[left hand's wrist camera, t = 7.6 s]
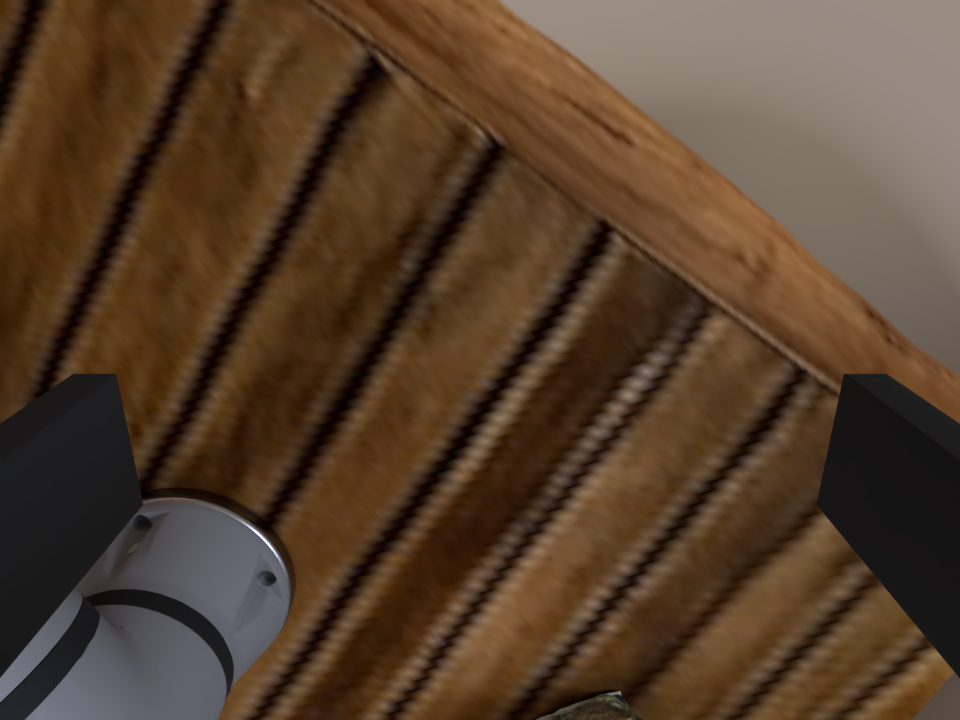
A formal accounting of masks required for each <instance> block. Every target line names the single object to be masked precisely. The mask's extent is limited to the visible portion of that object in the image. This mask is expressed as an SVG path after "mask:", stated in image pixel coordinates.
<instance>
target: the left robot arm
mask: <svg viewBox="0 0 960 720" xmlns="http://www.w3.org/2000/svg"><path fill="white" fill-rule="evenodd" d="M817 506H818V507H819V508H820V509H821V511H822V512H823V513H824V514H825V515H826V517H827V518H828V519H829V520H830V522H831V523H832V524H833V525H834V526H835V528H836V529H837V530H838V531H839V532H840V534H841V535H842V536H843V537H844V538H845V540H846V541H847V542H848V543H849V545H850V546H851V547H852V548H853V549H854V551H855V552H856V553H857V554H858V555H859V557H860V558H861V559H862V560H863V562H864V563H865V564H866V565H867V566H868V568H869V569H870V570H871V571H872V572H873V574H874V575H875V576H876V577H877V578H878V580H879V581H880V582H881V583H882V585H883V586H884V587H885V588H886V589H887V591H888V592H889V593H890V594H891V595H892V597H893V598H894V599H895V600H896V601H897V603H898V604H899V605H900V606H901V608H902V609H903V610H904V611H905V612H906V614H907V615H908V616H909V617H910V618H911V620H912V621H913V622H914V623H915V625H916V626H917V627H918V628H919V629H920V631H921V632H922V633H923V634H924V635H925V637H926V638H927V639H928V640H929V641H930V643H931V644H932V645H933V646H934V648H935V649H936V650H937V651H938V652H939V654H940V655H941V656H942V657H943V658H944V660H945V661H946V662H947V663H948V664H949V666H950V667H951V668H952V669H953V671H954V672H955V673H956V674H957V675H958V677H959V678H960V424H959V423H958V422H956V421H955V420H953V419H952V418H950V417H949V416H948V415H946V414H945V413H943V412H942V411H940V410H939V409H937V408H936V407H934V406H933V405H931V404H930V403H928V402H927V401H926V400H924V399H923V398H921V397H920V396H918V395H917V394H915V393H914V392H912V391H911V390H909V389H908V388H906V387H905V386H904V385H902V384H901V383H899V382H898V381H896V380H895V379H893V378H892V377H890V376H889V375H887V374H844V377H843V381H842V386H841V391H840V396H839V400H838V405H837V410H836V415H835V420H834V424H833V429H832V434H831V439H830V443H829V448H828V453H827V458H826V463H825V467H824V472H823V477H822V482H821V486H820V491H819V496H818V501H817ZM294 595H295V573H294V568H293V564H292V561H291V558H290V556H289V553H288V551H287V549H286V547H285V545H284V544H283V542H282V541H281V539H280V538H279V537H278V535H277V534H276V533H275V532H274V530H273V529H272V528H271V527H270V526H269V525H268V524H267V523H266V522H265V521H263V520H262V519H261V518H260V517H259V516H257V515H256V514H255V513H253V512H252V511H250V510H249V509H247V508H245V507H244V506H242V505H240V504H238V503H236V502H234V501H232V500H230V499H227V498H225V497H222V496H219V495H216V494H213V493H208V492H204V491H198V490H191V489H167V490H159V491H154V492H150V493H146V494H143V495H141V491H140V486H139V482H138V477H137V472H136V467H135V463H134V458H133V453H132V448H131V443H130V439H129V434H128V429H127V424H126V420H125V415H124V410H123V405H122V400H121V396H120V391H119V386H118V381H117V377H116V374H73V375H71V376H70V377H68V378H67V379H65V380H64V381H62V382H61V383H59V384H58V385H56V386H55V387H54V388H52V389H51V390H49V391H48V392H46V393H45V394H43V395H42V396H40V397H39V398H37V399H36V400H34V401H33V402H32V403H30V404H29V405H27V406H26V407H24V408H23V409H21V410H20V411H18V412H17V413H15V414H14V415H12V416H11V417H9V418H8V419H7V420H5V421H4V422H2V423H1V424H0V720H218V718H219V716H220V713H221V711H222V708H223V706H224V703H225V701H226V698H227V696H228V694H229V691H230V689H231V687H232V686H233V685H234V684H235V683H236V681H237V680H238V679H239V678H240V677H241V676H242V675H243V674H244V673H245V672H246V671H247V670H248V669H249V667H250V666H251V665H252V664H253V663H254V662H255V661H256V660H257V659H258V658H259V657H260V656H261V655H262V653H263V652H264V651H265V650H266V649H267V648H268V647H269V646H270V645H271V644H272V642H273V641H274V640H275V638H276V637H277V636H278V634H279V633H280V631H281V630H282V628H283V626H284V624H285V622H286V619H287V616H288V614H289V611H290V608H291V605H292V603H293V599H294Z"/></svg>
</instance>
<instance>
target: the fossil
mask: <svg viewBox="0 0 960 720" xmlns="http://www.w3.org/2000/svg"><path fill="white" fill-rule="evenodd" d="M536 720H643V719H641V718H639V717H637V716H636V715H634V714H632V713H631V711H630V707H629V706H628V704H627V703H626V702H625V701H624V700H623V698H622V695H621V692H613V693H606V694H601V695H599V696H597V697H594V698H591V699H588V700H584V701H581V702H578V703H575V704H573V705H570V706H568V707H565V708H562V709H559V710H558V711H556V712H555V713H553V714H550V715H546V716H543V717H540V718H538V719H536Z"/></svg>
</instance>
